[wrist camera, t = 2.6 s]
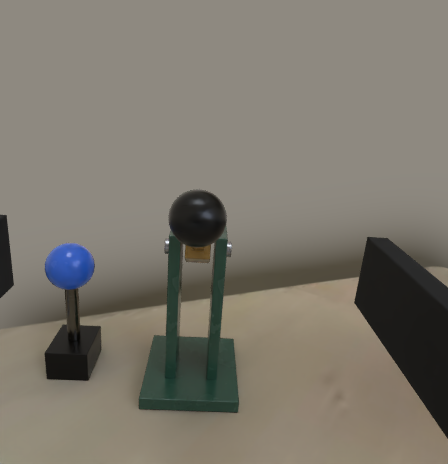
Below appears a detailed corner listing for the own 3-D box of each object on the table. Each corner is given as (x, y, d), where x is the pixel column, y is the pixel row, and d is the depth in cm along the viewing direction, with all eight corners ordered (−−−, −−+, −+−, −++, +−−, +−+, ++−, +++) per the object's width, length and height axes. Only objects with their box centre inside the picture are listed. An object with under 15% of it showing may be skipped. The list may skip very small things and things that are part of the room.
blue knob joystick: (103, 349, 44) (100, 236, 40) (90, 380, 39) (84, 256, 35) (62, 348, 44) (54, 234, 40) (44, 378, 39) (33, 253, 35)
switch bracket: (237, 412, 37) (254, 252, 32) (138, 409, 36) (139, 246, 31) (232, 347, 46) (244, 216, 41) (153, 344, 46) (156, 210, 41)
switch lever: (227, 244, 23) (229, 183, 24) (164, 240, 23) (168, 179, 24) (216, 269, 38) (218, 232, 39) (177, 267, 38) (180, 230, 38)
